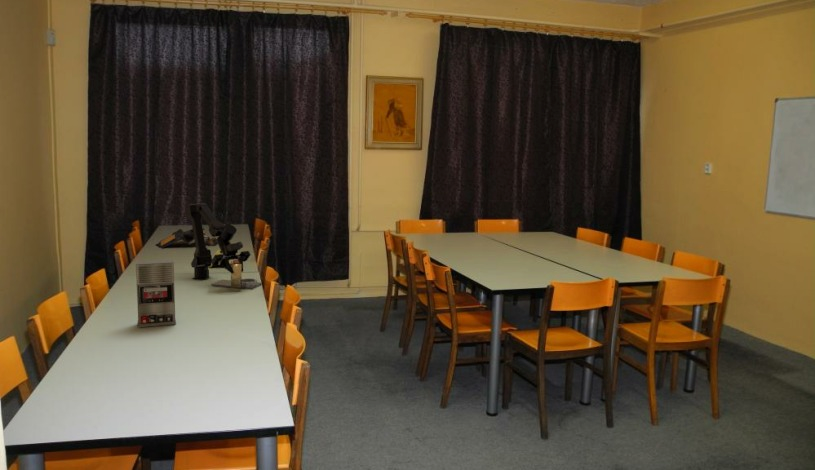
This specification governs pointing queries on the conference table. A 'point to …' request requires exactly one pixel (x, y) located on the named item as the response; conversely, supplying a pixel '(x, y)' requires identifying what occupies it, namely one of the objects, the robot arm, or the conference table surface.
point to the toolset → (184, 238)
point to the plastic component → (216, 254)
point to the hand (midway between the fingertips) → (237, 272)
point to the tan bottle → (236, 274)
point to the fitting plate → (246, 284)
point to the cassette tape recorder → (155, 293)
